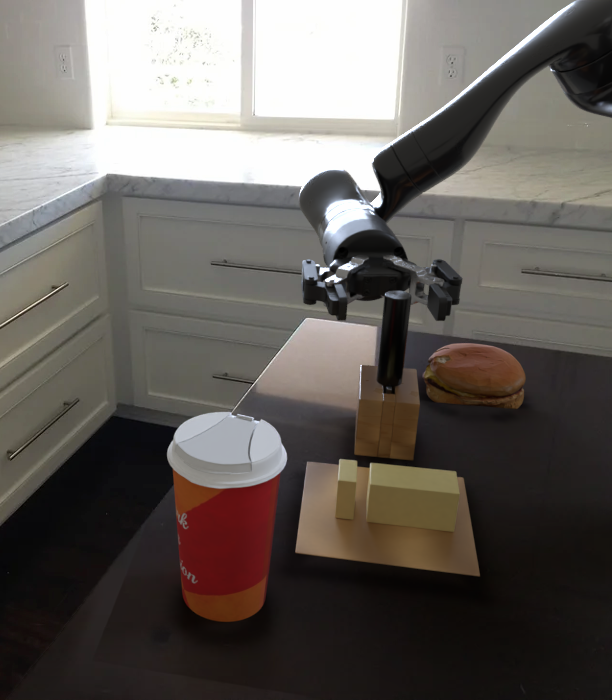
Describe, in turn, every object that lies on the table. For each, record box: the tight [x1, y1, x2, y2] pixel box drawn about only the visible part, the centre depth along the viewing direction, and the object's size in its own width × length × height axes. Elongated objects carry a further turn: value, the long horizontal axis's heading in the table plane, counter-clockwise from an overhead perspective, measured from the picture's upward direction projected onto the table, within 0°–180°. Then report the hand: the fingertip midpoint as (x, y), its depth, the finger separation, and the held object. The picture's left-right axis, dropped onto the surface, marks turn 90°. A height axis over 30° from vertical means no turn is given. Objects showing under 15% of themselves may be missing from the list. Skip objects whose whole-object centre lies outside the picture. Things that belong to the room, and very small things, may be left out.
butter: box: [366, 462, 460, 532], centre depth 67 cm, size 6×3×4 cm, turn 77°
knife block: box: [353, 364, 421, 461], centre depth 78 cm, size 5×7×7 cm
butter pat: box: [335, 458, 358, 520], centre depth 68 cm, size 1×3×4 cm, turn 167°
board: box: [294, 461, 481, 577], centre depth 69 cm, size 13×13×2 cm
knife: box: [376, 291, 412, 394], centre depth 76 cm, size 2×3×15 cm
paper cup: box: [166, 411, 288, 623], centre depth 58 cm, size 8×8×14 cm
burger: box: [421, 342, 527, 410], centre depth 88 cm, size 10×9×5 cm
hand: (392, 310), depth 75 cm, fingers open, 8 cm apart
